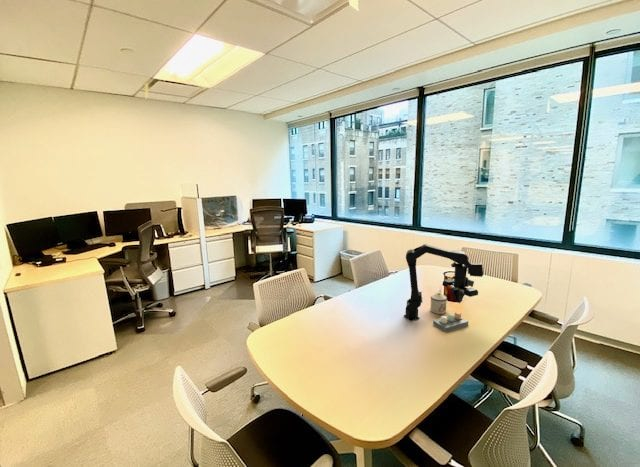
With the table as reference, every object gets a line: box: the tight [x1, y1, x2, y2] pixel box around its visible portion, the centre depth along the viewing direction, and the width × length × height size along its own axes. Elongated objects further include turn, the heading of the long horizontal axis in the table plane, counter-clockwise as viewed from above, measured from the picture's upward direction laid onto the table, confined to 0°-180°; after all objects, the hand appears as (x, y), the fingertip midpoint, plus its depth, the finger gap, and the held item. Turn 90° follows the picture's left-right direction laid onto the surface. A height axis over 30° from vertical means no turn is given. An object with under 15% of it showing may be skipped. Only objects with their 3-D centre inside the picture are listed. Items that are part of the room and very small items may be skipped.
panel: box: [432, 315, 469, 333], centre depth 160 cm, size 16×9×2 cm, turn 113°
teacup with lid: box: [430, 291, 448, 315], centre depth 177 cm, size 12×9×12 cm
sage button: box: [447, 313, 455, 323], centre depth 160 cm, size 3×3×4 cm
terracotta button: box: [453, 311, 462, 321], centre depth 162 cm, size 3×3×4 cm
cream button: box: [440, 315, 447, 325], centre depth 158 cm, size 3×3×4 cm
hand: (458, 302), depth 160 cm, fingers closed
